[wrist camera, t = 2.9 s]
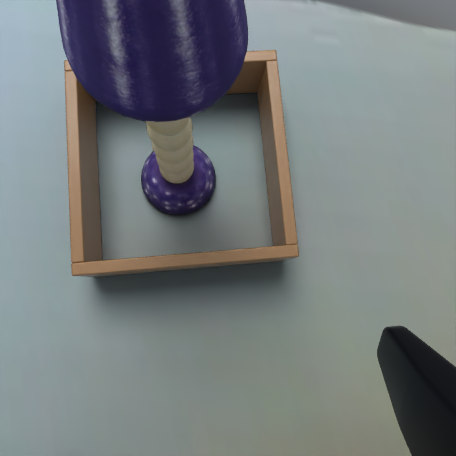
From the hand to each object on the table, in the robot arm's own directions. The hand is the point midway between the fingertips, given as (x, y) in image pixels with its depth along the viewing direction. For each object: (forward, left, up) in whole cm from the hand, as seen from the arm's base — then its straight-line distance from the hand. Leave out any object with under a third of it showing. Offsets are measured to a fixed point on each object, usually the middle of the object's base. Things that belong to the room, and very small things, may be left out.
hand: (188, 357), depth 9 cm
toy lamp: (+3, +7, -13) cm, 15 cm away
